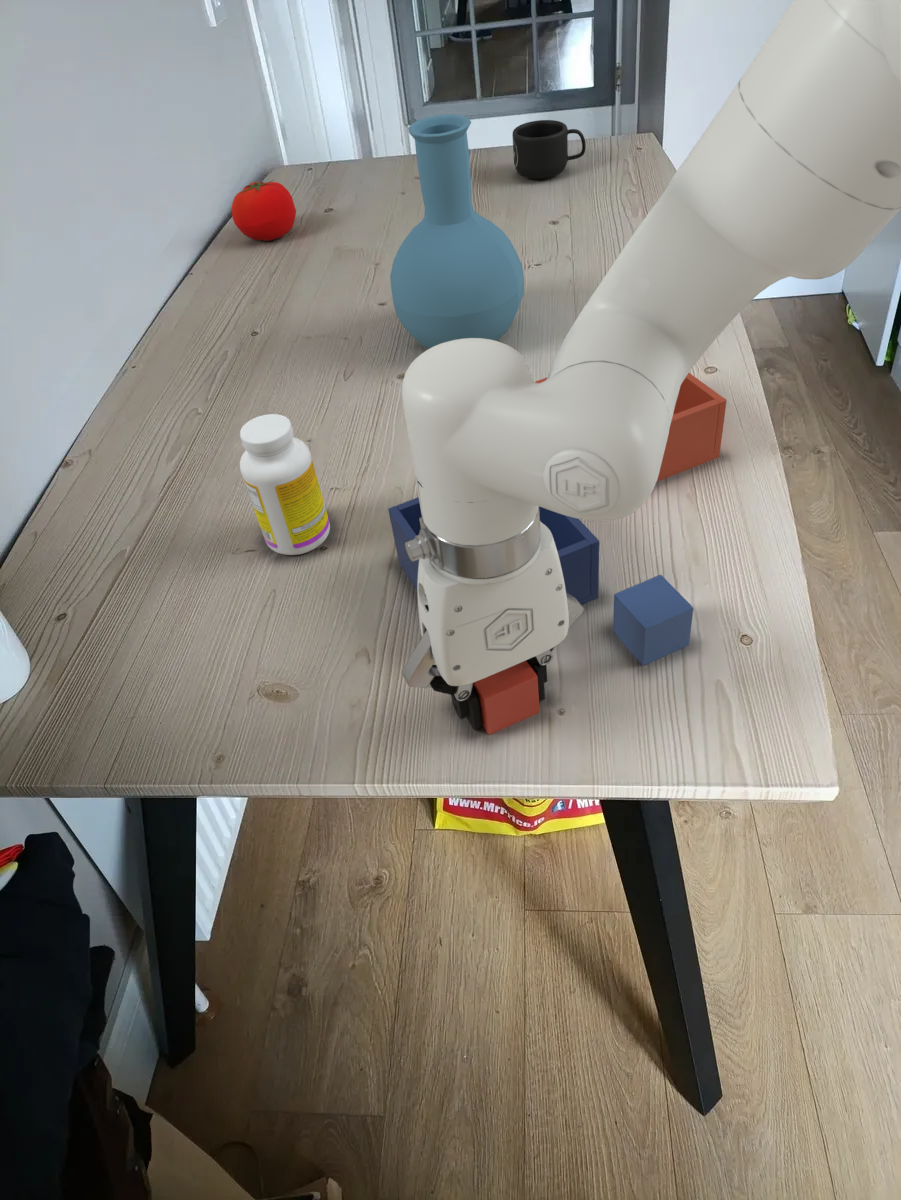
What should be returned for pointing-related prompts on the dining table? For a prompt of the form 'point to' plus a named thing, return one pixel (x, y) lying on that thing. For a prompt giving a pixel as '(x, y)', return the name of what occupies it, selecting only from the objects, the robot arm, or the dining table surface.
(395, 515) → the blue bin
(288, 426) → the supplement bottle
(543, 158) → the mug
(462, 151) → the vase
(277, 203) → the tomato
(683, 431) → the red bin
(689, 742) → the dining table surface
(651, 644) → the blue block
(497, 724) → the red block
